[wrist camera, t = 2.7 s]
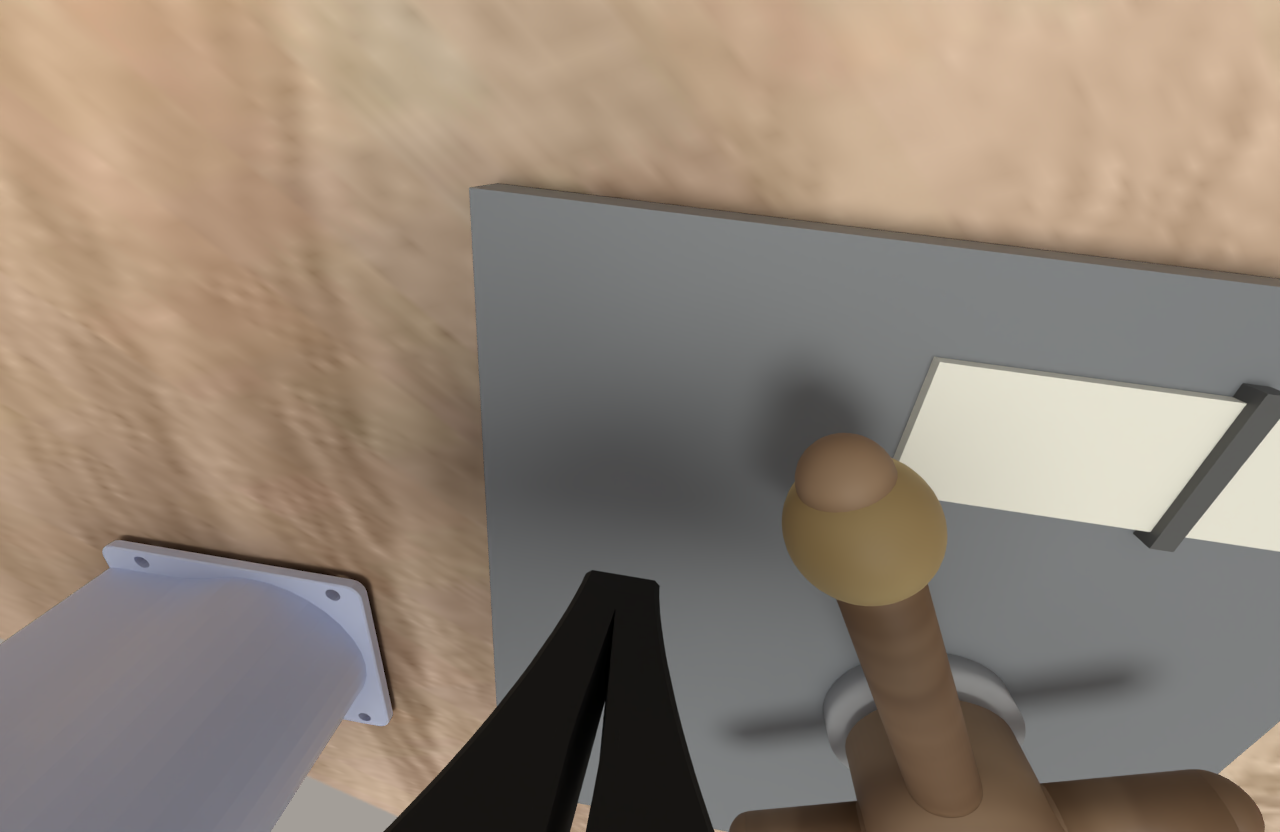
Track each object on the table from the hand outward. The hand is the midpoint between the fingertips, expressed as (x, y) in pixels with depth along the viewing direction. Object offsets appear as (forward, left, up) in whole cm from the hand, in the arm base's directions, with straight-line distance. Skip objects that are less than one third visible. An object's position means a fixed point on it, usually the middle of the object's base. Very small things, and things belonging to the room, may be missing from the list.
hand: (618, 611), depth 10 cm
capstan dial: (+8, -3, -2) cm, 9 cm away
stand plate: (+7, -4, -5) cm, 9 cm away
